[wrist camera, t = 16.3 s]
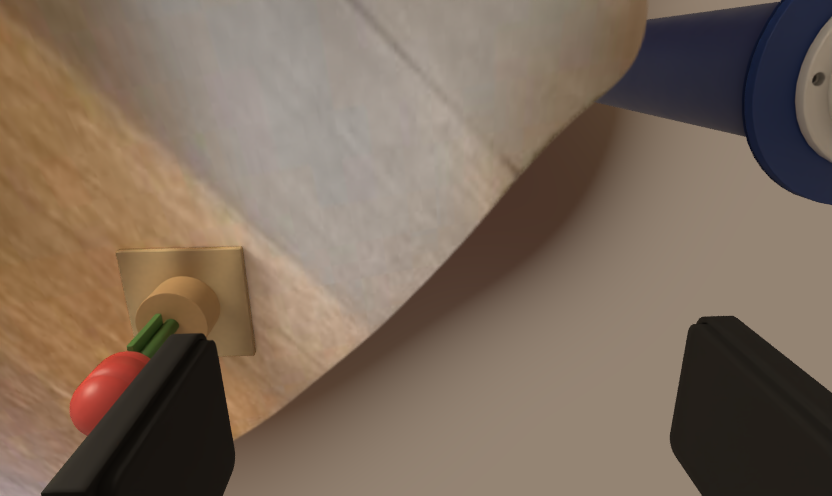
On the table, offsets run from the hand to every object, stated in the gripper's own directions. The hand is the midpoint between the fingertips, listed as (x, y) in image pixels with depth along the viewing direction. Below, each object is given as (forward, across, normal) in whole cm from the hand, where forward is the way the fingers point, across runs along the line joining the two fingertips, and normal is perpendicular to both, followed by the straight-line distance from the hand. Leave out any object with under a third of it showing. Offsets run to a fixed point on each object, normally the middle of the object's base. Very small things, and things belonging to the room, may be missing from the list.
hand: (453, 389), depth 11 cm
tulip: (+28, +18, +11) cm, 35 cm away
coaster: (+28, +18, +11) cm, 35 cm away
